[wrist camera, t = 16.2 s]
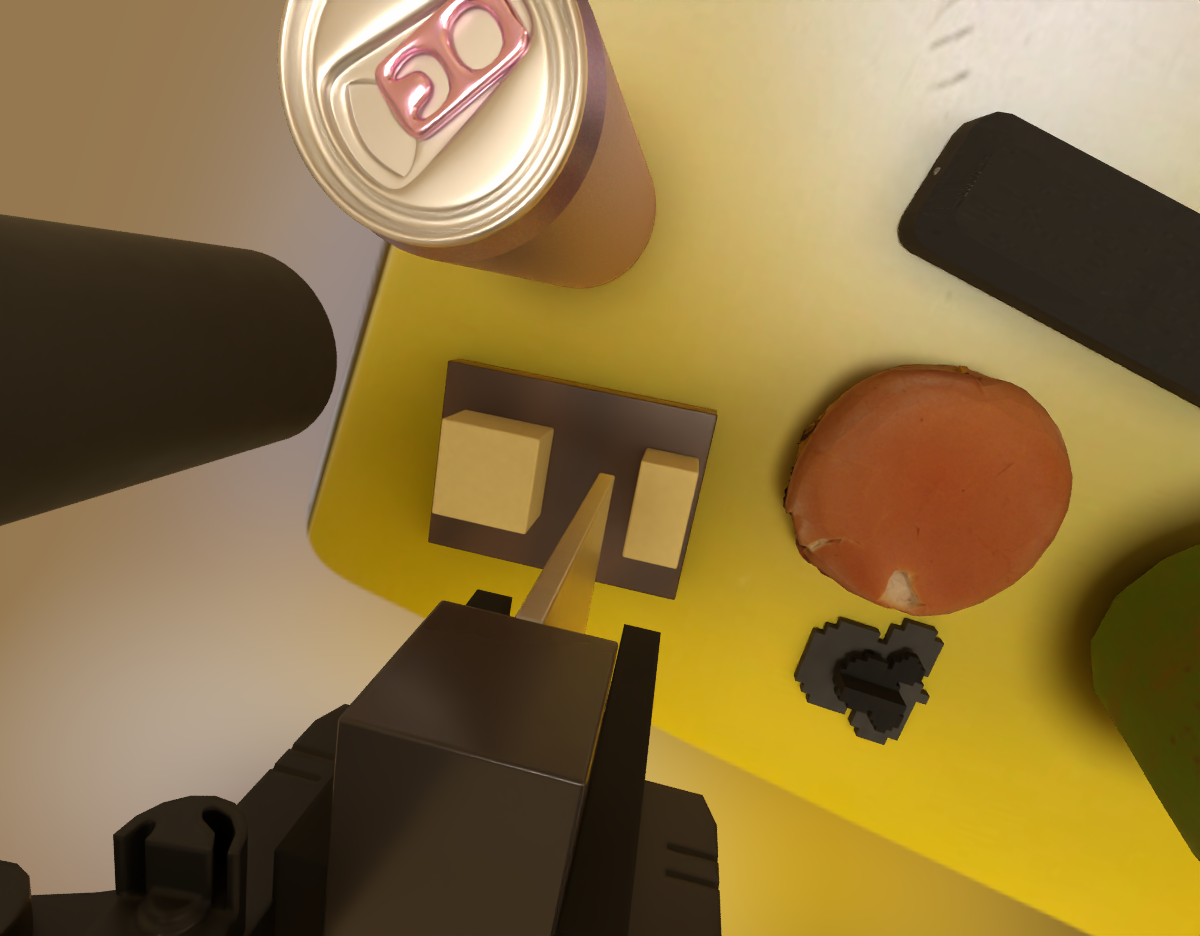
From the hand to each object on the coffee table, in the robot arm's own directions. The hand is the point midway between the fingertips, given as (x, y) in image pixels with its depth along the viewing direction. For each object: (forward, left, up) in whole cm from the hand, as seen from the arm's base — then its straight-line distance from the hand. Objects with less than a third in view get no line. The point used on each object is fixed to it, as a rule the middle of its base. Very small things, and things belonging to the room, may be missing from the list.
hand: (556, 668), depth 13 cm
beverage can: (-4, +11, -15) cm, 19 cm away
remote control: (+16, +12, -15) cm, 25 cm away
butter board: (-3, 0, -15) cm, 15 cm away
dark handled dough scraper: (0, 0, -3) cm, 3 cm away
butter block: (-6, 0, -14) cm, 15 cm away
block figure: (+12, -6, -15) cm, 20 cm away
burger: (+11, +3, -15) cm, 19 cm away
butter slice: (+1, 0, -14) cm, 14 cm away
